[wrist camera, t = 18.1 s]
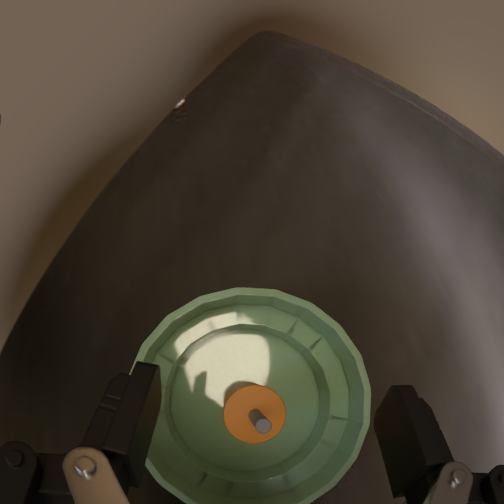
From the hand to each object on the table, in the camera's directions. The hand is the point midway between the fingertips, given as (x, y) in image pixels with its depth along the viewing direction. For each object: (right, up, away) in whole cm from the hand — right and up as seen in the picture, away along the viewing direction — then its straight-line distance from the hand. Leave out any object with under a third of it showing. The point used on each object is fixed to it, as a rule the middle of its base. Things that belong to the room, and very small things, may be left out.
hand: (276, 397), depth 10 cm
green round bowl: (-1, -7, +13) cm, 14 cm away
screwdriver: (-1, -6, +12) cm, 14 cm away
